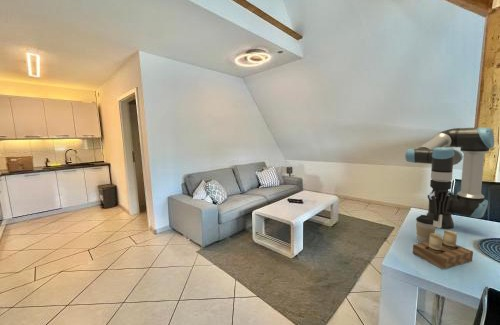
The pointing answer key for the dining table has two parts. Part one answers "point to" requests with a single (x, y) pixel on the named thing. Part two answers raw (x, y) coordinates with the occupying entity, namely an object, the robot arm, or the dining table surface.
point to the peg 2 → (449, 239)
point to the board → (443, 255)
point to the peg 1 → (435, 243)
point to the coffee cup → (424, 228)
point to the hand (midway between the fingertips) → (437, 226)
